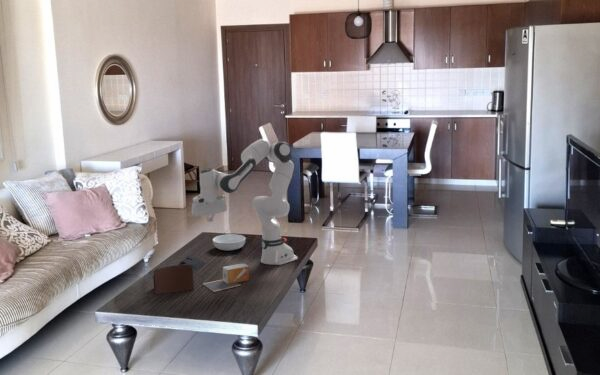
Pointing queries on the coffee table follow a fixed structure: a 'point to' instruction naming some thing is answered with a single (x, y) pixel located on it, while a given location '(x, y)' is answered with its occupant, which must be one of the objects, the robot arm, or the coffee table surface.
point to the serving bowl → (229, 242)
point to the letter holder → (173, 279)
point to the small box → (235, 273)
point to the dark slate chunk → (192, 263)
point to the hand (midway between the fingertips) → (210, 221)
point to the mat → (220, 285)
